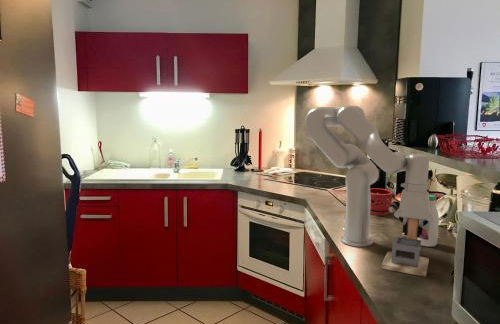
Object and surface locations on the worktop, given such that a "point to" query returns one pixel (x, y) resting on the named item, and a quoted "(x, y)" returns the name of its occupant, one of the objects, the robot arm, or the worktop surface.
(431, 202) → the milk bottle
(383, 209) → the plant pot
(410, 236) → the peg
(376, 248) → the worktop surface
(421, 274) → the collar stand
